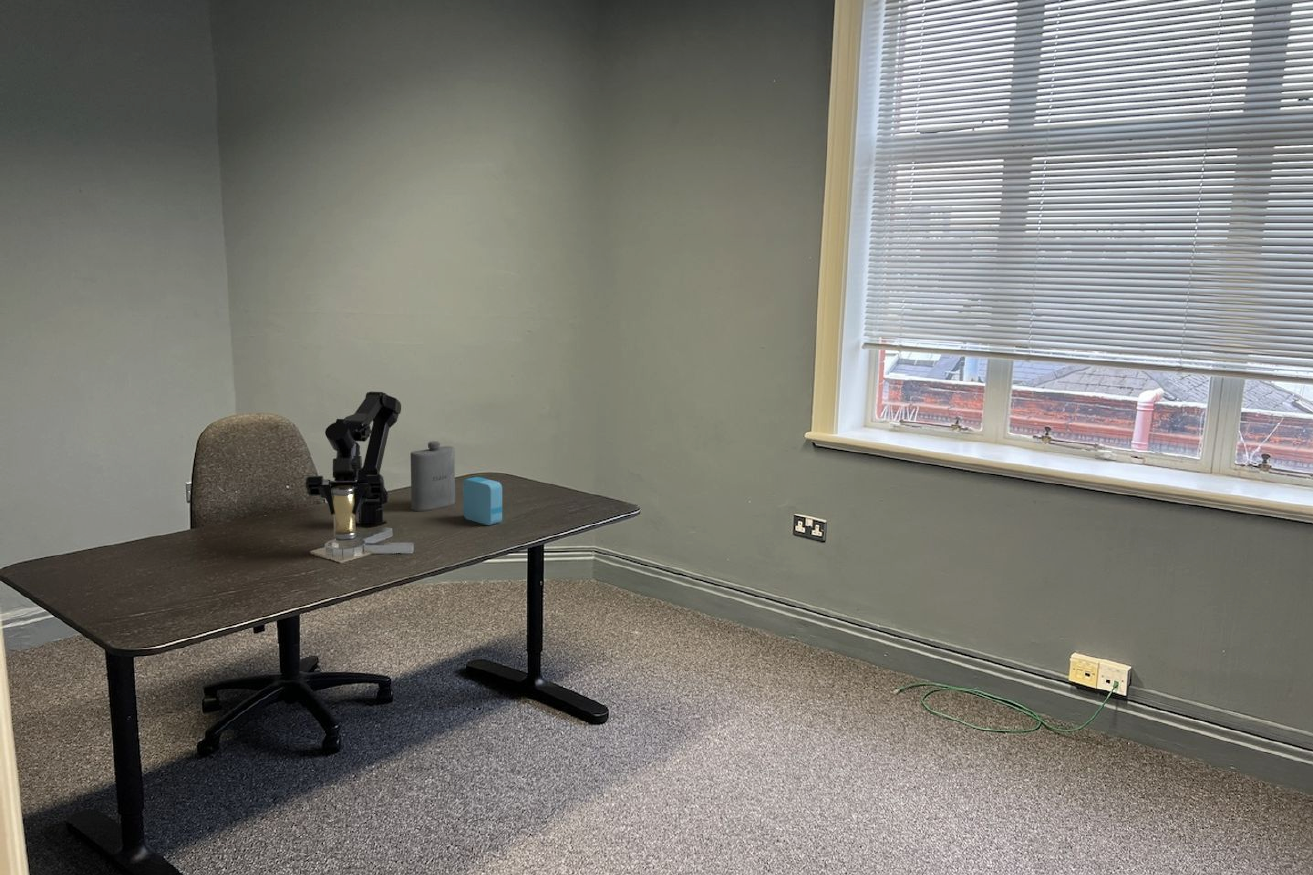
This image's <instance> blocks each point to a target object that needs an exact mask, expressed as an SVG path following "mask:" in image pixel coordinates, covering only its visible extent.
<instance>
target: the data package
mask: <svg viewBox="0 0 1313 875" xmlns="http://www.w3.org/2000/svg"><path fill="white" fill-rule="evenodd" d="M462 503H463V504H462V506H463V507H462V509H463V511H462V512H463V513H462V514H463V516H464V517H463V518H465V519H466V520H467V521H471V520H472V522H474V521H475V522H476V523H478V524H481V525H486V526H491V525H495V524H499V523H501V522H502V520H503V486H502V484H501V483H500V482H499V481H496V480H491V479H488V478H484V477H479V476H474V477H471V478H465V479H463V481H462Z"/></svg>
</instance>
